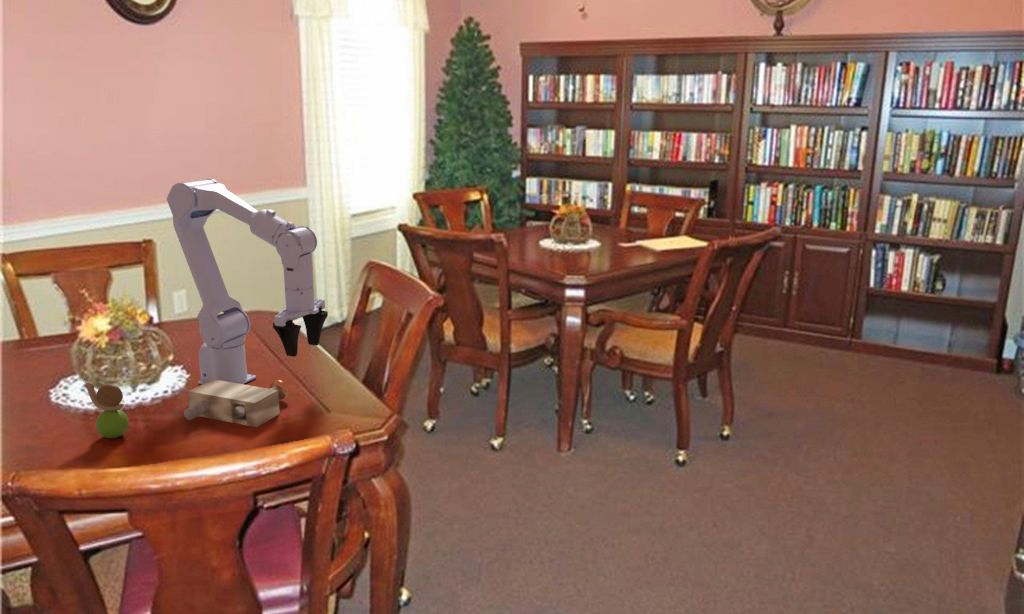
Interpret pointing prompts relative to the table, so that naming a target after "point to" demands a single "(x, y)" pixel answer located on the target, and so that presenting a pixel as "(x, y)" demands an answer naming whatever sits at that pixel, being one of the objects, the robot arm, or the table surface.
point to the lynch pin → (277, 385)
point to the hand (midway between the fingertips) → (302, 350)
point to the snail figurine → (108, 410)
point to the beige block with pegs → (232, 402)
